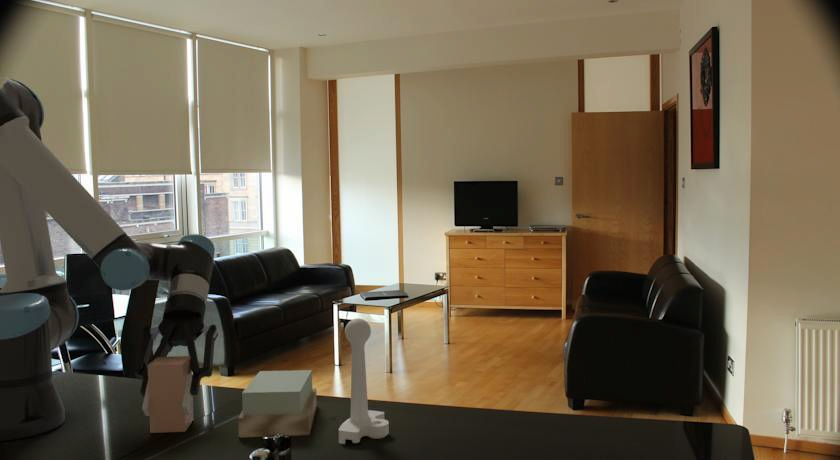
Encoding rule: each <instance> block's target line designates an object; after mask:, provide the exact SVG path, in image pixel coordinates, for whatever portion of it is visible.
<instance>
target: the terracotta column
mask: <svg viewBox="0 0 840 460" xmlns="http://www.w3.org/2000/svg"><path fill="white" fill-rule="evenodd" d="M190 359H191V356H189V355H183V356H182V355H181V356H167V357H157V358H156V359H155V360H154V361H152V362H151V363H150V364H149V363H148V364H149V365H148V389H149V412H150V416H149V433H150V434H154V433H155V434H156V433H183V432H186V431H187V430H188V429H189V427H190V425H191V424H192V423H193V422H194V421H195V420H194V395H193V396H192V402H191V408H190V414H186V415H185V413H184V411H183V409H182V404H183V398H184V393H185V387H186V381H187V375H188V374H192V375H193V372H192V368H191V363H190ZM192 421H193V422H192Z"/></svg>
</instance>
